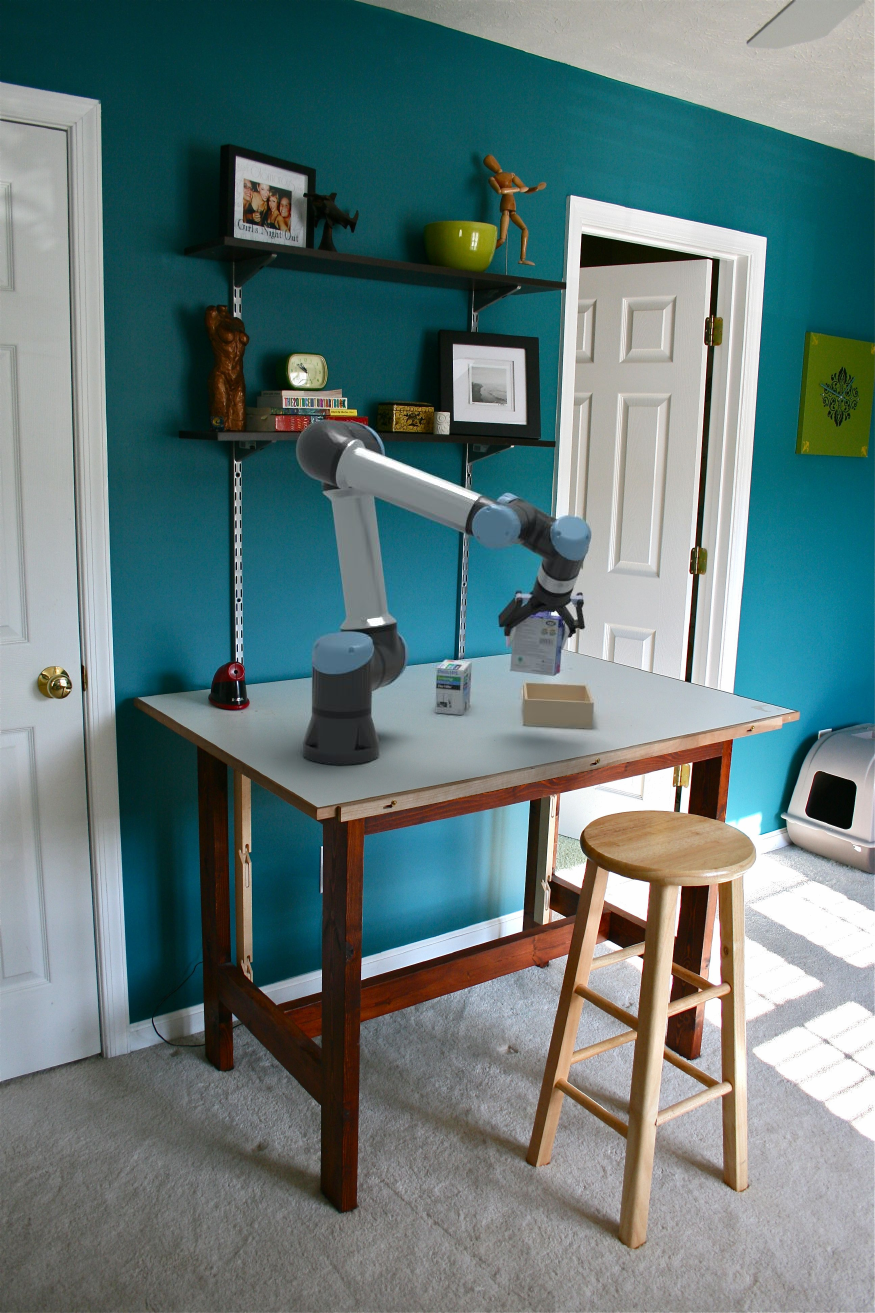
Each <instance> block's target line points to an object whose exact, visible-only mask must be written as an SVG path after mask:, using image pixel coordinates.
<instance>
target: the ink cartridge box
mask: <svg viewBox="0 0 875 1313" xmlns="http://www.w3.org/2000/svg"><path fill="white" fill-rule="evenodd" d="M563 624H564V620H563V619H562V618H561V616H559V615H553V614H550V612H539V613H537V614H536V615H531V616H530V617H528V618H527V619H525V620H524V621H523V622H521V623H520V624H518V625H517V626H515V629H516V631H515V634H514V637H513V640H512V644H511V657H510V669H509V671H510V672H515V673H522V674H523V673H525V674H526V673H527V674H533V675H534V674H535V675H541V676H550V677H555V676H556V675H557V674H558V675H559V674H560V673H561V663H562V662H561V661H562V650H563V649H562V637H563Z"/></svg>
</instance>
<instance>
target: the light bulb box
mask: <svg viewBox="0 0 875 1313" xmlns="http://www.w3.org/2000/svg"><path fill="white" fill-rule="evenodd" d="M472 664H473V663H472V662H471V661H463V660H453V659H445V660H443V661H442V662H441V663H440V665H438V666H437V667H436V674H435V676H436V677H435V678H436V680H435V704H434V705H435V707H434V708H435V709H434V710H435V713H436V714H447V715H457V716H463V715H464V714H465V712H466V711H467V710H468V708H469V707H470V706H471V688H472V685H471V684H472Z"/></svg>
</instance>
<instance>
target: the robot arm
mask: <svg viewBox="0 0 875 1313" xmlns="http://www.w3.org/2000/svg"><path fill="white" fill-rule="evenodd" d="M295 452H296V453H295V454H296V460H297V462H298V464H299V466H300V468H301V469H302V470H303V471H304V473H305V474H307V476H309V477H310V478H312V479H313V480H317V481H320V482H321V487H322V494H323V495H325V496H326V497H327V498H328V499H329V500H330V501H331V506H332V513H333V522H334V523H333V524H334V530H335V537H336V538H335V539H336V544H337V552H338V553H337V554H338V561H339V569H340V576H341V583H342V593H343V599H344V606H345V607H344V609H345V615H346V617H345V620H344V621H343V623H342V624H341V625H340V631H337V632H336V633H335V632H334V633H333V632H332V633H330V632H329V633H327V634H324V635H322V636H320V637H318V638H317V639H316V640H315V641H314V643H313V647H312V655H311V661H310V662H311V716H310V720H309V723H308V725H307V728H306V731H305V734H304V737H303V739H302V740H303V741H302V748H301V749H302V756H303V757H304V758H306V759H307V760H309V761H312V762H316V763H320V764H325V765H335V766H336V765H341V766H343V765H346V766H347V765H357V764H363V763H368V762H371V761H374V760H375V759H377V758H378V757H379V756H380V748H381V747H380V745H381V744H380V740H379V737H378V733H377V731H376V727H375V724H374V721H373V717H372V702H373V701H372V699H373V692H374V691H376V690H378V689H380V688H385V687H386V686H389V685H391V684H392V683H394V682H395V681H397V679H398V678H400V677H401V676H402V674H403V673H404V672H405V670H406V668H407V665H408V662H409V655H410V653H409V646H408V644H407V642H406V640H405V638H404V637H403V636H402V635H401V634H400V633H399V632H398V631H399V630H398V624H397V619H395V617H393V616H392V615H391V614H390V613H389V610H388V601H387V594H386V586H385V585H386V584H385V578H384V569H383V568H384V567H383V561H382V554H381V544H380V537H379V528H378V521H377V519H378V518H377V513H376V505H375V504H376V503H375V498H378V499H380V500H383V501H385V502H387V503H390V504H392V505H395V506H397V507H400V508H402V509H404V510H407V511H410V512H411V513H415V514H417V515H419V516H422V517H424V518H426V519H429V520H431V521H434V522H436V523H439V524H441V525H443V526H445V527H449V528H451V529H454V530H456V531H458V532H460V533H463V534H466V535H468V536H470V537H472V538H475V539H476V541H477V542H478V543H479V544H480V545H481V546H483V547H486V548H488V549H489V548H490V549H497V550H498V549H499V550H500V549H504V548H507V547H510V546H513V545H520V546H522V547H524V548H525V549H528V550H529V551H531V552H532V553H534V554H536V555H538V556H540V557H542V559H541V562H540V565H539V568H538V571H537V575H536V578H535V582H534V585H533V588H532V591H530V592H529V593H522V592H523V591H522V590H516V591H515V594H514V597H513V598H512V600H510V601H509V603H508V604H507V605H506V606H505V608H503V610H502V611H501V612H500V613H499V614H498V616H497V620H498V626H499V628H503V635H504V637H505V643H506V649H509V648H510V649H511V648H512V640H513V637H514V634H515V631H516V629H515V626H517V625H518V624H520V623H521V622H523V621H524V620H525V619H527V618H528V617H530V616H531V615H536V614H537V613H539V612H549V613H557V616H561V618H562V619H563V620H564V623H563V637H562V650H564V648H565V645H566V642H567V640H568V638H569V639H570V638H572V637H573V635H575V634H576V633H577V629H579V630H585V628H586V624H585V619H584V614H583V613H584V612H583V606H584V604H585V601H584V595H583V592H580V591H578V592H577V593H576V594H572V593H573V591H574V588H575V585H576V583H577V580H578V577H579V574H580V571H581V568H582V566H583V563H584V561H585V558H586V556H587V554H588V553H589V548H590V544H591V539H592V530H591V526H590V525H589V524H588V523H587V521H585V519H583V518H581V517H579V516H574V515H573V516H572V515H569V514H568V515H567V514H566V515H562V516H560V517H558V518H556V517H553V516H551V515H550V514H548V513H546V512H545V511H543V510H541V509H540V508H537V507H536V506H534V505H533V504H531V503H530V502H527V501H526V500H525V499H524V498H522V497H518V496H516V495H514V494H512V493H511V492H506V493H503V494H502V495H501V496H499V497H498V498H497V499H496V500H495V499H493V498H492V497H491V498H490V497H488V496H485V495H484V494H480V493H478V492H476V491H473V490H470V489H467V488H465V487H463V486H460V485H458V484H456V483H453V482H450V481H448V480H445V479H444V478H443V479H442V478H441V477H438V476H436V475H433V474H430V473H428V472H426V471H423V470H421V469H419V468H418V469H417V468H416V467H414V466H413V467H412V466H411V465H408V464H405V463H403V462H400V461H397V460H395V459H394V458H390V457H388V456H386V453H385V446H384V443H383V441H382V439H381V438H380V436H379V435H378V433H377V432H376V431H375V430H374V429H373V428H371V427H370V426H368V425H365V424H363V423H360V422H358V421H357V422H356V421H353V420H352V421H345V420H344V421H343V420H333V419H320V420H317V421H314V422H312V423H310V424H309V425H307V426H306V427H305V428H304V429H303V430H302V431H301V433H300V435H299V436H298V439H297V441H296V447H295ZM526 602H527V603H526ZM571 603H572V605H573V606H574V608H575V612H576V617H577V618H576V619H575V618H574V617H573V615H572V614H571V611H569V609H568V608H567V606H568V605H570V604H571Z"/></svg>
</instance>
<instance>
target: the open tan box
mask: <svg viewBox="0 0 875 1313" xmlns="http://www.w3.org/2000/svg"><path fill="white" fill-rule="evenodd" d="M520 694H521V709H522V710H521V711H522V724H523V726H527V727H528V726H530V727H548V728H565V729H567V728H568V729H583V728H584V729H585V730H588V729H589V730H593V722H594V720H593V719H594V706H595V705H594V704H595V702H594V699H593V696H592V694H591V692H590V689H589V686H588V684H587V685H586V684H568V683H547V682H543V683H542V682H527V681H526V682H525V681H524V682H522V688H521V689H520Z"/></svg>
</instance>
